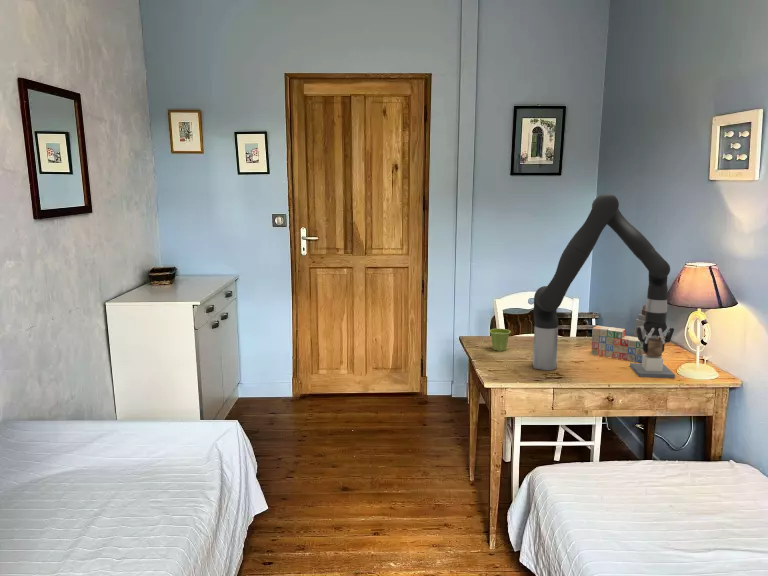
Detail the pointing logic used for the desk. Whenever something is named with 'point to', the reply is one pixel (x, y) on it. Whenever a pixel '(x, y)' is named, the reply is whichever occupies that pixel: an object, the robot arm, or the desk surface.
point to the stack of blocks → (616, 344)
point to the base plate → (651, 373)
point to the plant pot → (499, 338)
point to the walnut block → (654, 347)
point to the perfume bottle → (641, 324)
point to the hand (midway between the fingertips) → (653, 352)
